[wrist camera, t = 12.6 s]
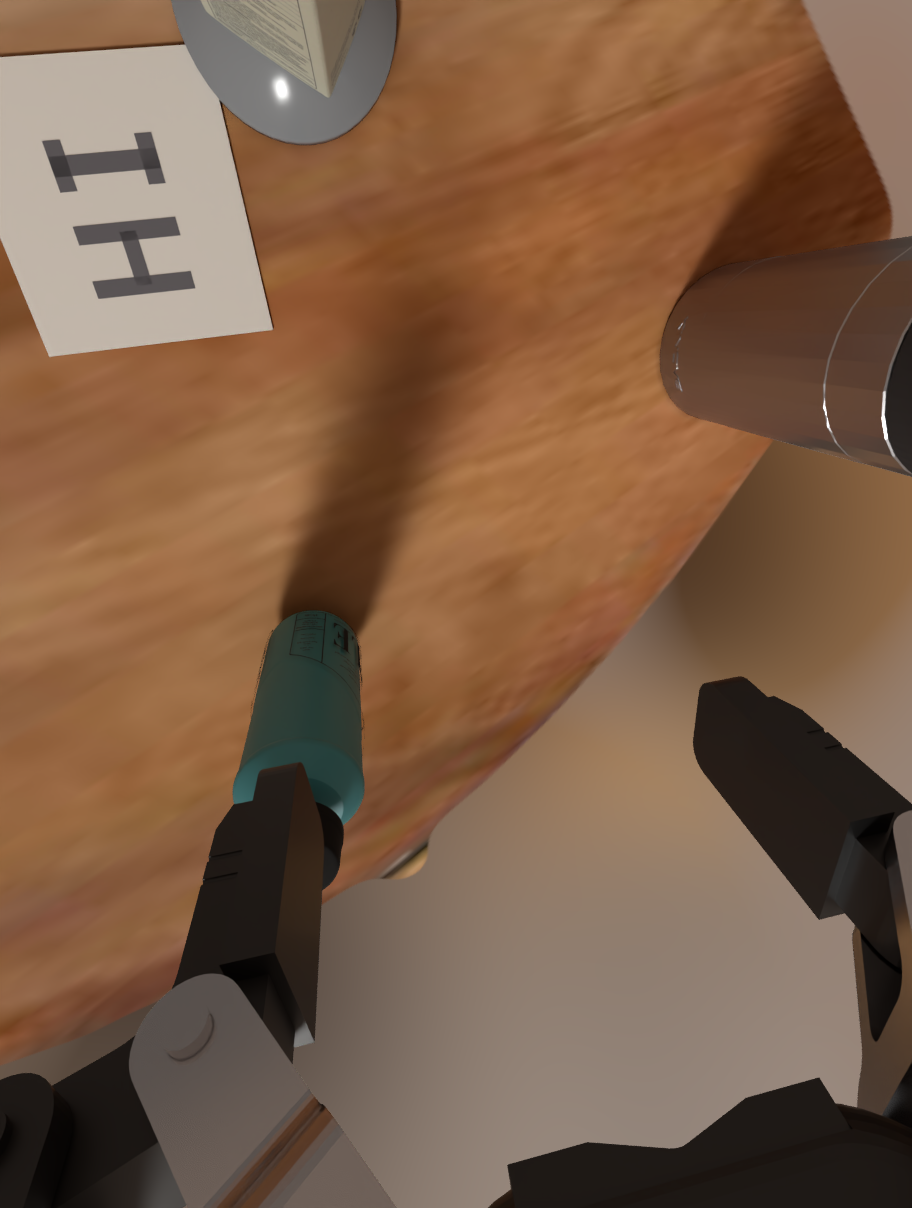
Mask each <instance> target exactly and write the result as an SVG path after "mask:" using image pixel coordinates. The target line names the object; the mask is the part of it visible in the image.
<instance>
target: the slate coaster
mask: <svg viewBox="0 0 912 1208" xmlns="http://www.w3.org/2000/svg"><path fill="white" fill-rule="evenodd" d="M171 1H172V6H173V11H174V14H175V17H176V21H177V24H178V27H179V30H180V33H181V35H182V38H183V40H184V43H185V45H186V48H187V50H188V52H189V54H190V56H191V58H192V59H193V61H194V63H195V65H196V67H197V69H198V70H199V72H200V73H201V75H202V77H203V78H204V80H205V81H206V83H207V84H208V86H209V87H210V89H211V90H212V91H213V92H214V94H215V95H216V96H217V97H218V99H219V100H220V101H221V102H222V103H223V104H224V105H225V106H226V107H227V108H228V110H229V111H230V112H231V113H232V114H234V115H235V116H236V117H237V118H238V119H240V120H241V121H242V122H243V123H245V124H246V125H248V126H249V127H251V128H252V129H254V130H255V131H257V132H258V133H261V134H263V135H265V136H267V137H269V138H271V139H274V140H277V141H280V142H284V143H288V144H295V145H316V144H321V143H326V142H329V141H332V140H335V139H337V138H339V137H341V136H343V135H344V134H346V133H348V132H349V131H351V130H352V129H353V128H354V127H356V126H357V125H358V124H359V123H360V122H361V121H362V120H363V119H364V118H365V117H366V116H367V115H368V114H369V112H370V111H371V109H372V108H373V106H374V105H375V103H376V102H377V100H378V98H379V96H380V94H381V92H382V90H383V88H384V85H385V83H386V80H387V77H388V75H389V71H390V67H391V63H392V58H393V53H394V46H395V38H396V18H397V14H396V0H365V4H364V7H363V10H362V13H361V16H360V20H359V23H358V26H357V29H356V32H355V35H354V37H353V40H352V43H351V46H350V49H349V51H348V54H347V56H346V59H345V62H344V64H343V67H342V69H341V72H340V75H339V77H338V80H337V82H336V85H335V87H334V90H333V92H332V94H331V96H330V97H326V96H324V95H323V94H321V93H320V92H318V91H317V90H315V89H313V88H312V87H310V86H309V85H307V84H306V83H304V82H303V81H301V80H300V79H298V78H297V77H295V76H294V75H292V74H291V73H290V72H288V71H287V70H285V69H284V68H282V67H281V66H279V65H278V64H277V63H275V62H274V61H272V60H271V59H269V58H268V57H267V56H265V55H264V54H262V53H261V52H259V51H258V50H257V49H255V48H254V47H252V46H251V45H250V44H248V43H247V42H246V41H244V40H243V39H242V38H240V37H239V36H237V35H236V34H235V33H233V32H232V31H231V30H229V29H228V28H227V27H225V26H224V25H223V24H221V23H220V22H219V21H217V20H216V19H215V18H214V17H212V16H211V15H210V14H209V13H207V12H206V10H205V8H204V6H203V4H202V2H201V0H171Z"/></svg>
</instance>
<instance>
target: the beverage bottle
mask: <svg viewBox="0 0 912 1208" xmlns="http://www.w3.org/2000/svg"><path fill="white" fill-rule="evenodd" d="M352 630H353V629H352V628H350V627H349V626H348V624H347V623H346V622H344V621H343V620H342V619H341V618H339V617H337V616H335V615H333V614H331V613H328V612H324V611H317V610H310V611H303V612H299V613H296V614H293V615H291V616H289V617H288V618H286V619H285V620H284V621H282V622H281V623H280V624H279V625H278V626H277V627H276V629H275V630H274V631H273V630H272V631H271V632H273V633H272V635H271V637H270V640H268V641H269V643H268V644H267V645H268V647H267V651H266V655H265V660H264V664H263V668H262V672H261V670H259V671H260V672H261V676H259V677H260V681H259V680H258V681H259V685H258V689H257V694H256V698H255V703H254V708H253V714H252V718H251V722H250V726H249V730H248V734H247V738H246V743H245V747H244V751H243V755H242V759H241V763H240V767H239V771H238V773H237V775H236V778H235V781H234V785H233V800H234V804H238V803H243V802H248V801H253V796H254V791H255V787H256V782H257V777H258V774H259V772H260V770H262V769H267V768H272V767H277V766H282V765H287V764H292V763H297V762H301V763H302V764H303V766H304V768H305V771H306V774H307V777H308V780H309V784H310V787H311V790H312V793H313V796H314V799H315V803H316V806H317V809H318V812H319V815H320V819H321V823H322V829H323V838H324V863H323V883H322V890H323V889H325V888H326V887H327V886H328V885H330V883H331V882H332V881H333V880H334V878H335V877H336V875H337V872H338V870H339V866H340V857H341V849H342V846H343V838H344V829H343V825H344V824H345V823H346V822H347V821H349V820H350V819H351V817H352V816H353V815H354V814H355V813H356V811H357V810H358V808H359V806H360V804H361V802H362V799H363V796H364V776H363V769H362V754H363V753H362V746H361V740H362V730H361V712H362V711H361V701H360V676H359V670H360V673H361V668H362V665H360V657H361V656H360V655H359V649H360V648H359V646H360V645H359V646H358V643H360V642H357V639H356V636H357V635H356V636H355V634H356V633H355V634H354V632H353V631H352ZM269 635H270V634H269ZM268 637H269V636H268ZM357 638H358V637H357ZM267 639H268V638H267ZM358 640H359V639H358ZM265 650H266V649H265ZM265 650H264V651H265ZM360 653H361V652H360ZM264 654H265V652H264ZM264 654H263V655H264ZM263 658H264V657H262V659H263ZM262 661H263V660H262ZM260 666H261V665H260ZM360 666H361V668H360ZM359 668H360V669H359ZM259 675H260V673H259ZM257 678H258V677H257ZM258 679H259V678H258ZM361 681H362V677H361ZM257 683H258V682H257ZM256 687H257V686H256ZM256 687H255V688H256ZM362 687H363V686H362ZM361 689H362V688H361ZM254 691H256V690H254ZM254 695H255V694H254ZM252 704H253V703H252ZM252 704H251V706H252ZM251 708H252V707H251ZM362 716H363V715H362ZM363 723H364V722H363ZM363 727H364V726H363ZM362 729H363V728H362ZM364 739H365V736H364ZM363 749H364V748H363Z"/></svg>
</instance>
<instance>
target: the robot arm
mask: <svg viewBox="0 0 912 1208" xmlns="http://www.w3.org/2000/svg"><path fill="white" fill-rule="evenodd" d="M660 371H661V376H662V380H663V384H664V387H665V389H666V391H667V393H668V395H669V397H670V398H671V400H672V401H673V402H674V403H675V404H676V406H677V407H678V408H680V409H681V410H682V411H684V412H685V413H687V414H688V415H691V416H694V417H697V418H700V419H703V420H707V421H710V422H714V423H718V424H721V425H725V426H728V427H731V428H735V429H738V430H742V431H746V432H749V433H753V434H756V435H760V436H764V437H767V438H771V439H775V440H778V441H782V442H786V443H789V444H793V445H797V446H800V447H804V448H808V449H811V450H815V451H819V452H822V453H826V454H829V455H833V456H837V457H840V458H844V459H848V460H851V461H855V462H859V463H864V464H867V465H871V466H874V467H878V468H882V469H886V470H889V471H893V472H897V473H900V474H904V475H907V476H911V477H912V236H909V237H903V238H896V239H890V240H883V241H877V242H870V243H864V244H857V245H851V246H844V247H838V248H831V249H825V250H818V251H812V252H805V253H799V254H792V255H786V256H778V257H771V258H765V259H759V260H752V261H746V262H740V263H733V264H728V265H725V266H723V267H720V268H717V269H714V270H713V271H711V272H710V273H708V274H706V275H705V276H703V277H702V278H700V279H699V280H698V281H697V282H696V283H695V284H694V285H693V286H691V287H690V288H689V289H688V290H687V291H686V293H685V294H684V295H683V297H682V298H681V299H680V301H679V302H678V303H677V305H676V306H675V308H674V310H673V312H672V314H671V316H670V318H669V320H668V322H667V325H666V328H665V331H664V334H663V337H662V343H661V350H660ZM693 747H694V753H695V756H696V759H697V762H698V764H699V766H700V768H701V769H702V771H703V773H704V774H705V775H706V776H707V778H708V779H709V780H710V781H711V783H712V784H713V785H714V787H715V788H716V789H717V790H718V792H719V793H720V794H721V796H722V797H723V798H724V799H725V800H726V802H727V803H728V804H729V806H730V807H731V808H732V810H733V811H734V812H735V813H736V815H737V816H738V817H739V818H740V819H741V821H742V822H743V824H744V825H745V826H746V827H747V829H748V830H749V831H750V833H751V834H752V835H753V836H754V838H755V839H756V840H757V841H758V843H759V844H760V845H761V846H762V848H763V849H764V850H765V852H766V853H767V854H768V855H769V857H770V858H771V859H772V860H773V862H774V863H775V864H776V865H777V867H778V868H779V869H780V871H781V872H782V873H783V874H784V876H785V877H786V878H787V880H788V881H789V882H790V883H791V885H792V886H793V887H794V889H795V890H796V891H797V892H798V894H799V895H800V896H801V897H802V899H803V900H804V901H805V903H806V904H807V905H808V906H809V908H810V909H811V910H812V911H813V913H814V914H815V915H816V917H817V918H818V919H819V920H820V919H824V918H827V917H832V916H835V915H840V914H843V913H845V914H846V915H847V916H848V917H849V918H850V920H851V921H852V922H853V923H854V924H855V927H854V930H853V933H852V944H853V955H854V966H855V977H856V988H857V999H858V1010H859V1021H860V1032H861V1043H862V1065H861V1073H860V1079H859V1086H858V1100H857V1107H852V1106H847V1105H843V1104H835V1102H834V1101H833V1099H832V1097H831V1096H830V1094H829V1093H828V1091H827V1089H826V1088H825V1086H824V1085H823V1083H822V1081H821V1080H820V1078H815V1079H812V1080H808V1081H805V1082H801V1083H798V1084H794V1085H790V1086H787V1087H783V1088H780V1089H776V1090H773V1091H769V1092H766V1093H762V1094H759V1095H755V1096H751V1097H748V1098H745V1099H744V1100H743V1101H741V1102H740V1103H739V1104H737V1105H736V1106H735V1107H734V1108H732V1109H731V1110H730V1111H728V1112H727V1113H726V1114H725V1115H723V1116H722V1117H721V1118H719V1119H718V1120H717V1121H716V1122H714V1123H713V1124H712V1125H710V1126H709V1127H708V1128H707V1129H706V1130H704V1131H703V1132H701V1133H700V1134H699V1135H698V1136H696V1137H695V1138H694V1139H692V1140H691V1141H690V1142H689V1143H687V1144H686V1145H684V1146H682V1147H679V1148H674V1149H668V1148H655V1147H641V1146H628V1145H616V1144H603V1143H589V1142H587V1143H583V1144H580V1145H576V1146H573V1147H569V1148H566V1149H562V1150H558V1151H555V1152H551V1153H548V1154H544V1155H541V1156H537V1157H533V1158H530V1159H527V1160H523V1161H519V1162H516V1163H512V1164H509V1165H507V1166H508V1172H509V1179H510V1185H511V1190H509V1191H508V1192H507V1193H506V1194H504V1195H503V1196H501V1197H500V1198H499V1199H497V1200H496V1201H495V1202H493V1204H491V1205H490V1207H488V1208H912V804H911V803H910V802H909V801H908V800H906V799H905V798H904V797H903V796H902V795H901V794H899V793H898V792H897V791H896V790H895V789H894V788H892V787H891V786H890V785H889V784H888V783H887V782H885V781H884V780H883V779H882V778H881V777H880V776H878V775H877V774H876V773H875V772H874V771H872V770H871V769H870V768H869V767H868V766H867V765H866V764H864V763H863V762H862V761H861V760H860V759H859V758H857V757H856V756H855V755H854V754H853V753H852V752H850V751H849V750H848V749H847V748H843V747H842V744H841V743H840V742H838V740H836V739H835V738H834V737H833V736H832V735H831V734H829V733H828V732H827V733H825V732H824V728H822V727H821V726H820V725H819V724H818V723H817V722H815V721H814V720H813V719H812V718H811V717H810V716H808V715H807V714H806V713H805V712H804V711H803V710H801V709H799V708H797V707H795V706H793V705H791V704H789V703H787V702H785V701H783V700H781V699H779V698H777V697H775V696H772V697H767V696H766V695H765V694H763V693H762V692H761V691H760V690H759V689H758V688H757V687H756V686H755V685H753V684H752V683H751V682H750V681H749V680H748V679H746V678H744V677H734V678H729V679H724V680H719V681H713V682H709V683H704V684H703V685H702V686H701V688H700V690H699V697H698V705H697V713H696V722H695V730H694V737H693ZM323 863H324V838H323V829H322V823H321V819H320V815H319V812H318V809H317V806H316V803H315V799H314V796H313V793H312V790H311V787H310V784H309V780H308V777H307V774H306V771H305V768H304V766H303V764H302V763H301V762H297V763H292V764H287V765H282V766H277V767H272V768H267V769H262V770H260V772H259V774H258V777H257V782H256V787H255V791H254V796H253V801H248V802H243V803H238V804H234V805H233V806H232V807H231V809H230V810H229V812H228V813H227V815H226V816H225V817H224V819H223V820H222V822H221V823H220V825H219V826H218V827H217V829H216V831H215V835H214V839H213V842H212V846H211V850H210V854H209V862H207V865H206V869H205V872H204V876H203V885H201V887H200V891H199V895H198V899H197V903H196V906H195V910H194V914H193V918H192V921H191V925H190V929H189V933H188V936H187V940H186V944H185V948H184V951H183V955H182V959H181V963H180V967H179V970H178V974H177V977H176V980H175V983H174V985H173V987H172V989H171V990H170V991H169V992H168V993H167V994H166V995H164V996H163V997H162V998H161V999H160V1000H159V1001H158V1002H157V1003H156V1004H155V1006H154V1007H153V1008H152V1009H151V1010H150V1012H149V1013H148V1014H147V1016H146V1017H145V1019H144V1020H143V1022H142V1024H141V1025H140V1027H139V1029H138V1031H137V1033H136V1035H135V1036H134V1037H133V1038H132V1039H130V1040H129V1041H127V1042H126V1043H125V1044H123V1045H122V1046H120V1047H119V1048H117V1049H115V1050H114V1051H112V1052H110V1053H109V1054H107V1055H105V1056H103V1057H102V1058H100V1059H98V1060H96V1061H95V1062H93V1063H91V1064H89V1065H88V1066H86V1067H84V1068H82V1069H81V1070H79V1071H77V1072H76V1073H74V1074H72V1075H70V1076H68V1077H67V1078H65V1079H63V1080H61V1081H60V1082H58V1083H56V1084H54V1085H53V1086H51V1084H50V1083H49V1082H48V1081H47V1080H46V1079H44V1078H43V1077H41V1076H40V1075H36V1074H32V1073H22V1074H17V1075H13V1076H9V1077H7V1078H4V1079H2V1080H0V1208H183V1207H185V1206H186V1205H187V1208H396V1206H395V1205H394V1203H393V1202H392V1201H391V1199H390V1197H389V1196H388V1195H387V1193H386V1192H385V1191H384V1189H383V1187H382V1186H381V1184H380V1183H379V1182H378V1180H377V1179H376V1177H375V1176H374V1174H373V1173H372V1172H371V1170H370V1169H369V1167H368V1166H367V1164H366V1163H365V1161H364V1160H363V1159H362V1157H361V1156H360V1154H359V1153H358V1152H357V1150H356V1148H355V1147H354V1146H353V1144H352V1143H351V1141H350V1140H349V1138H348V1137H347V1136H346V1134H345V1133H344V1131H343V1130H342V1128H341V1127H340V1125H339V1124H338V1123H337V1121H336V1120H335V1119H334V1117H333V1116H332V1115H331V1113H330V1112H329V1111H328V1110H327V1108H326V1107H325V1106H324V1105H323V1104H320V1103H319V1102H318V1100H317V1099H316V1098H315V1097H314V1095H313V1094H312V1092H311V1091H310V1089H309V1088H308V1087H307V1085H306V1084H305V1082H304V1081H303V1079H302V1078H301V1076H300V1075H299V1074H298V1072H297V1071H296V1069H295V1068H294V1067H293V1065H292V1064H293V1051H294V1047H298V1046H302V1045H306V1044H310V1043H314V1042H315V1023H316V1002H317V983H318V962H319V941H320V923H321V903H322V883H323Z"/></svg>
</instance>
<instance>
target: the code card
mask: <svg viewBox="0 0 912 1208" xmlns="http://www.w3.org/2000/svg"><path fill="white" fill-rule="evenodd" d="M0 238H1V241H2V243H3V246H4V248H5V250H6V253H7V255H8V258H9V260H10V263H11V265H12V267H13V270H14V272H15V275H16V277H17V280H18V282H19V284H20V287H21V289H22V292H23V294H24V297H25V299H26V301H27V304H28V306H29V309H30V311H31V313H32V316H33V318H34V321H35V323H36V326H37V328H38V330H39V333H40V335H41V338H42V340H43V343H44V345H45V347H46V350H47V352H48V355H49V357H51V356H59V355H67V354H76V353H84V352H92V351H101V350H109V349H117V348H126V347H134V346H142V345H151V344H159V343H167V342H176V341H184V340H192V339H201V338H209V337H217V336H226V335H234V334H242V333H251V332H259V331H267V330H273V327H272V323H271V318H270V314H269V310H268V306H267V301H266V297H265V293H264V288H263V284H262V280H261V276H260V271H259V267H258V263H257V259H256V254H255V250H254V246H253V241H252V237H251V233H250V229H249V224H248V220H247V216H246V212H245V207H244V203H243V199H242V194H241V190H240V186H239V182H238V177H237V173H236V169H235V165H234V160H233V156H232V152H231V147H230V143H229V139H228V135H227V130H226V126H225V122H224V118H223V113H222V109H221V105H220V100H219V99H218V97H217V96H216V95H215V94H214V92H213V91H212V90H211V89H210V87H209V86H208V84H207V83H206V81H205V80H204V78H203V77H202V75H201V73H200V72H199V70H198V69H197V67H196V65H195V63H194V61H193V59H192V58H191V56H190V54H189V52H188V50H187V48H186V45H172V46H158V47H143V48H128V49H114V50H99V51H85V52H70V53H55V54H41V55H26V56H11V57H0Z"/></svg>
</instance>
